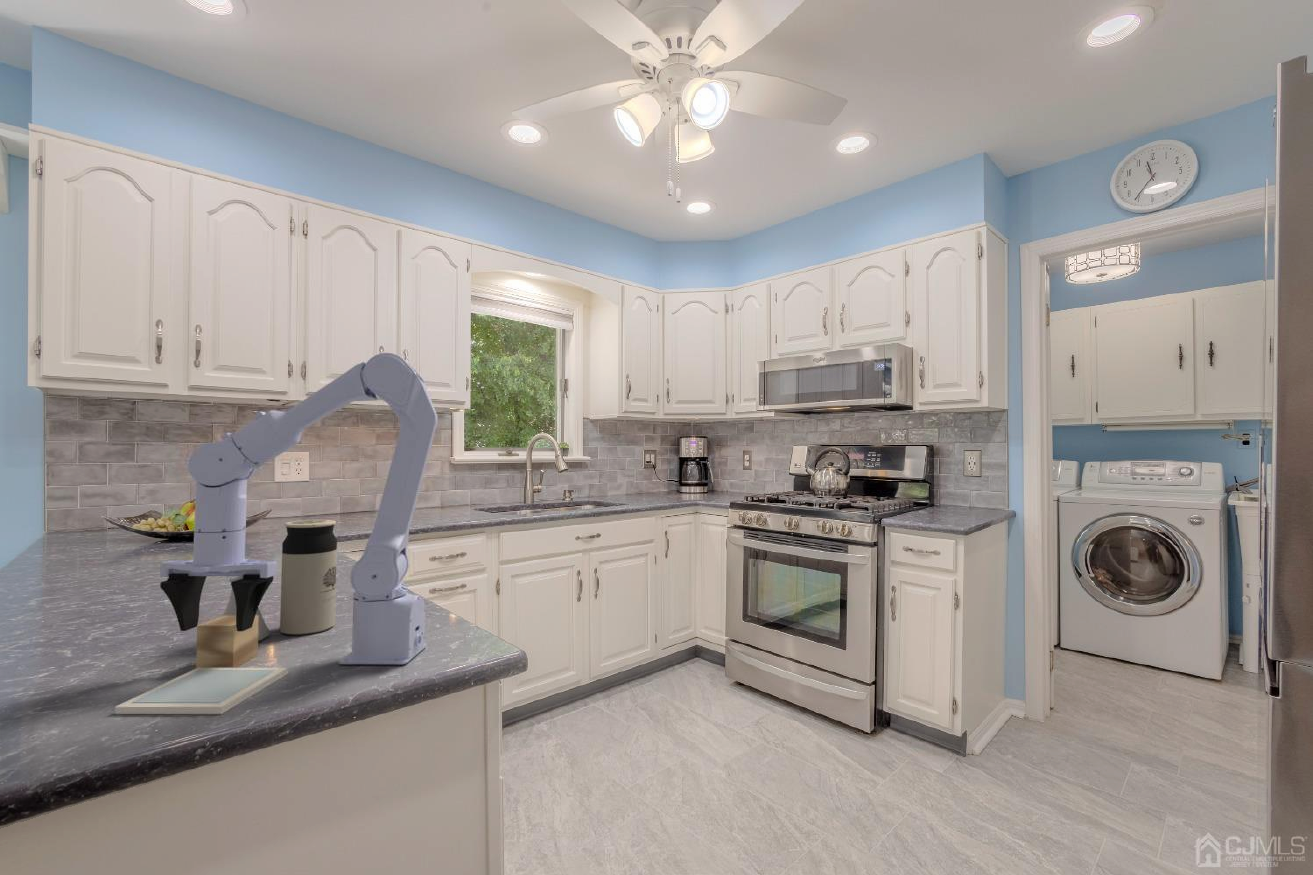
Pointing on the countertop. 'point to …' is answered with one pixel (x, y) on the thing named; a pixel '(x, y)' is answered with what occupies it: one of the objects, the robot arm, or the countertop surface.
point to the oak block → (225, 643)
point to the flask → (262, 626)
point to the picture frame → (203, 691)
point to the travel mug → (308, 577)
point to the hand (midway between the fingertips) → (216, 629)
